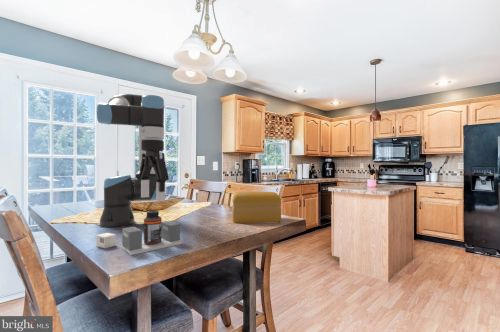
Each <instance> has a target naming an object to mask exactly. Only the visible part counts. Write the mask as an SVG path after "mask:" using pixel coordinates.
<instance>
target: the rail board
mask: <svg viewBox="0 0 500 332" xmlns="http://www.w3.org/2000/svg"><path fill="white" fill-rule="evenodd" d="M161 222H162V233H161V234H162V235H161V242H160V243H158V244H154V245H148V244H145V243H144V239H143V230H142V229H140V228H138V227H136V226H129V227H123V228H122V229H121V230H122V231H121V232H122V234H121V235H122V237H121V238H122V239H121V241H122V242H121V243H122V244H120V248H121V250H123V251H125V252H126V253H127V254H129V255H130V256H133V255H137V254H142V253H146V252H151V251H155V250H160V249H163V248H168V247H174V246H179V245H183V240H181V223H179V222H175V221H173V220H169V221H161Z"/></svg>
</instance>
